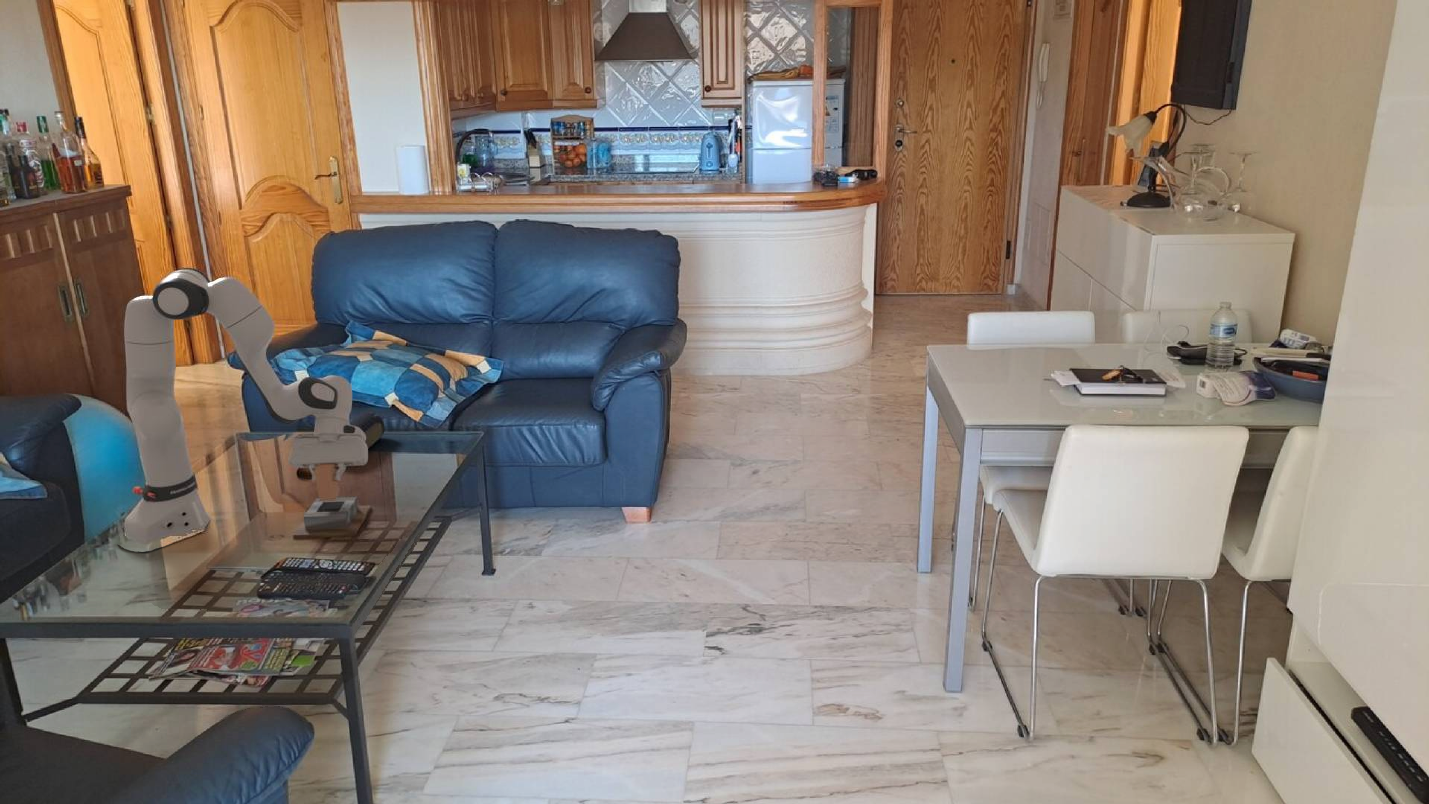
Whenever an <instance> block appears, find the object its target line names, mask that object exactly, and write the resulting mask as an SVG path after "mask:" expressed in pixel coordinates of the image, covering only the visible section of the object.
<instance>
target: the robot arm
mask: <svg viewBox="0 0 1429 804" xmlns="http://www.w3.org/2000/svg"><path fill="white" fill-rule="evenodd" d="M206 313H209V314H211V316H213V317H214V318H215V319H216V320H217V321H218V322H219V324H220V325H221V326H222V327H223V329H224V330H225V332H227V334H228V336H229V338H230V339H231V341H232V342H233V344H234V348H235V354H236V357H237V359H238V361H239V363H240V364H241V365H242V368H243V369H244V370H245V372H246V374H247V375H248V377H249V378H250V380H251V381H252V383H253V385H254V386H255V388H256V389H257V391H258V392H259V394H260V395H261V398H262V400H263V402H264V406H265V407H266V411H267V412H268V415H270V416H271V418H272V419H273V420H275V421H276V422H277V423H280V424H282V425H292V424H294V423H296V422H298V421H300V420H302V419H303V418H305V417H308V416H310V415H311V416H314V417H315V424H314V431H313V433H307V434H298V435H296V436H295V437H292V439H291V443H290V445H291V449H290V452H289V456H288V463H289V464H290V465H291V466H292V467H293V468H294V469H298V468H308V467H309V469H310V471H311V473H312V478H311V481H312V482H313V483H316V478H315V472H314V470H315V469H316V468H317V466H318V465H319V464H334V466H335V467H338V468H337V469H338V470H337V471H336V473H333V481H337V482H341V478H342V477H341V476H342V475H343V474H344V472H345V471H346V468H347V467H348V466H349V467H351V466H352V467H354V466H355V467H356V466H364V465H366V464H367V463H368V460H369V450H368V449H369V448H368V447H367V444H366V443H365V441H366V435H365V433H364V432H363V431H362V430H361V429H360V428H359V427H356V426H352V425H350V422H351V421H350V415H351V413H352V406H353V405H352V404H353V391H352V390H353V389H352V386H351V383H350V382H349V381H348V379H346V378H344V377H343V376H340V375H335V374H334V375H332V374H331V375H326V376H325V377H316V376H306V377H304V378H301V379H298V380H297V381H294V382H292V383H291V384H287V385H285V384H284V383H282V381H281V380H280V378H279V377H278V375H277V374H276V372H275V370H274V368H273V367H272V366H271V364H270V363H269V361H268V359H267V355H266V353H267V349H268V346H269V344H270V343H271V342H272V340H273V338H274V335H275V331H276V329H275V327H276V326H275V325H276V324H275V322H274V320H273V317H272V316H271V314H270V312H269V311H268V310H267V308H265V306H264V305H263V304H262V302H260V300H259V299H258V297H256V295H254V294H253V293H252V291H251V290H250V289H249V288H248V287H247V286H246V285H244V283H242V282H241V281H240V280H238V279H237V278H235V277H232V276H225V277H220V278H217V279H216V280H213V281H210V279H209V277H208V276H207V275H206V273H204V272H203V271H201V270H199V269H196V268H193V267H192V268H191V267H182V268H179V269H177V270H174V271H172V272H170V273H168V274H167V275H165V276H164V278H163V279H162V280H160V281H159V282H158V283H157V284H156V286H155V287H154V289H153V291H152V295H141V296H137V297H135V298H132V299H131V300H130V301H129V302H128V303H127V305H126V309H125V316H124V323H123V324H124V326H123V327H124V328H123V331H124V332H123V333H124V335H123V336H124V350H125V364H126V367H125V368H126V378H125V379H126V381H125V385H126V386H125V387H126V389H125V390H126V410H127V412H128V414H129V417H130V420H131V422H132V424H133V428H134V431H135V435H136V440H137V446H138V451H139V458H140V461H141V465H142V470H143V474H144V478H145V483H144V484H145V485H144V488H143V487H140V486H137V485H136V486H134V487H133V489H132V493H133V494H135V495H138V496H142V498H141V499H140V501H139V502H138V503H137V505H136V506H134V508H133V509H132V511H131V512H130V513H129V514H128V515H127V516H126V517H125V519H124V534H125V536H126V537H127V538H128V539H130V540H132V541H134V542H138V543H142V544H149V543H151V542H156V541H159V540H161V539H165V538H167V537H169V536H182V537H183V536H187V535H188V534H191V533H196V532H198V531H202V530H205V531H206V526H207V525H208V524H209V523H210V521H211V518H210V516H209V515H208V513H207V511H206V509H205V507H204V505H203V502H202V500H201V498H200V495H199V493H198V492H199V491H198V490H199V489H198V487H199V486H198V483H197V478H196V474H195V472H194V471H193V469H192V465H191V459H190V456H189V451H188V450H189V449H188V446H187V445H188V444H187V438H186V432H185V431H186V430H185V426H184V419H183V414H182V410H181V408H180V407H179V404H177V403H178V402H177V401H176V396H175V376H176V370H177V368H176V367H177V366H176V365H177V364H176V347H175V344H176V343H175V330H174V327H175V326H174V324H175V321H177V320H178V321H179V320H187V319H190V318H194V317H198V316H201V315H204V314H206ZM208 522H209V523H208ZM206 524H207V525H206ZM205 525H206V526H205ZM192 530H196V531H194V532H193V531H192ZM187 533H188V534H187ZM178 538H180V537H178Z"/></svg>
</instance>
